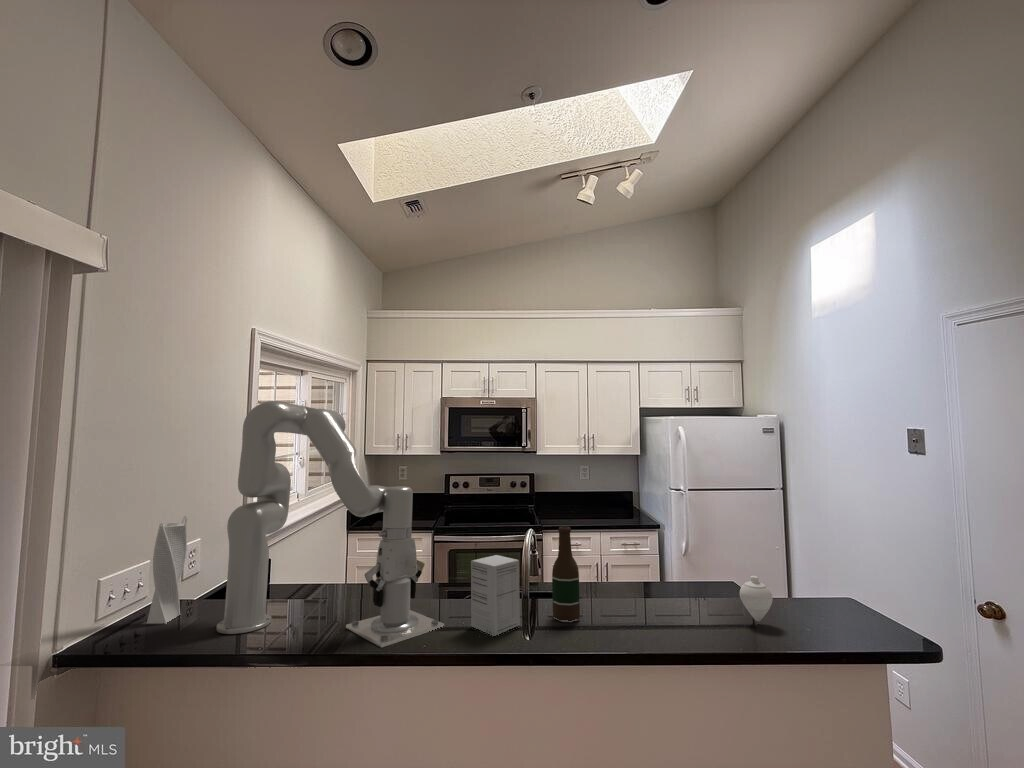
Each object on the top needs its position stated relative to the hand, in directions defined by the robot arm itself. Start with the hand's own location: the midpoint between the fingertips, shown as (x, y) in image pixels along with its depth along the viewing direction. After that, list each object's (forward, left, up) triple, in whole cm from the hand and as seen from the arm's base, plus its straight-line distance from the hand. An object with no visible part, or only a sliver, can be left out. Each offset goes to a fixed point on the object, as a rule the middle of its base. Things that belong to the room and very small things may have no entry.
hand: (394, 601), depth 122 cm
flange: (0, 0, -6) cm, 6 cm away
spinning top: (+67, +66, -7) cm, 95 cm away
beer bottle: (+28, +36, -7) cm, 46 cm away
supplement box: (+19, +18, -7) cm, 27 cm away
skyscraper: (-51, -41, -7) cm, 66 cm away
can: (0, 0, -5) cm, 5 cm away
